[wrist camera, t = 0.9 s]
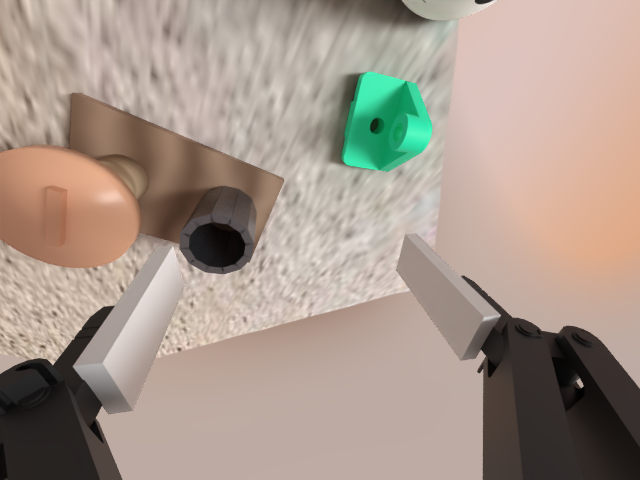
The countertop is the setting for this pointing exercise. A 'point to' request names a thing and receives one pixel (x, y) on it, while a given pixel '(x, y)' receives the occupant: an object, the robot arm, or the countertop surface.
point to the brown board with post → (165, 167)
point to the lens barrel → (220, 231)
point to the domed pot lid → (65, 207)
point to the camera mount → (385, 123)
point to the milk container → (446, 8)
